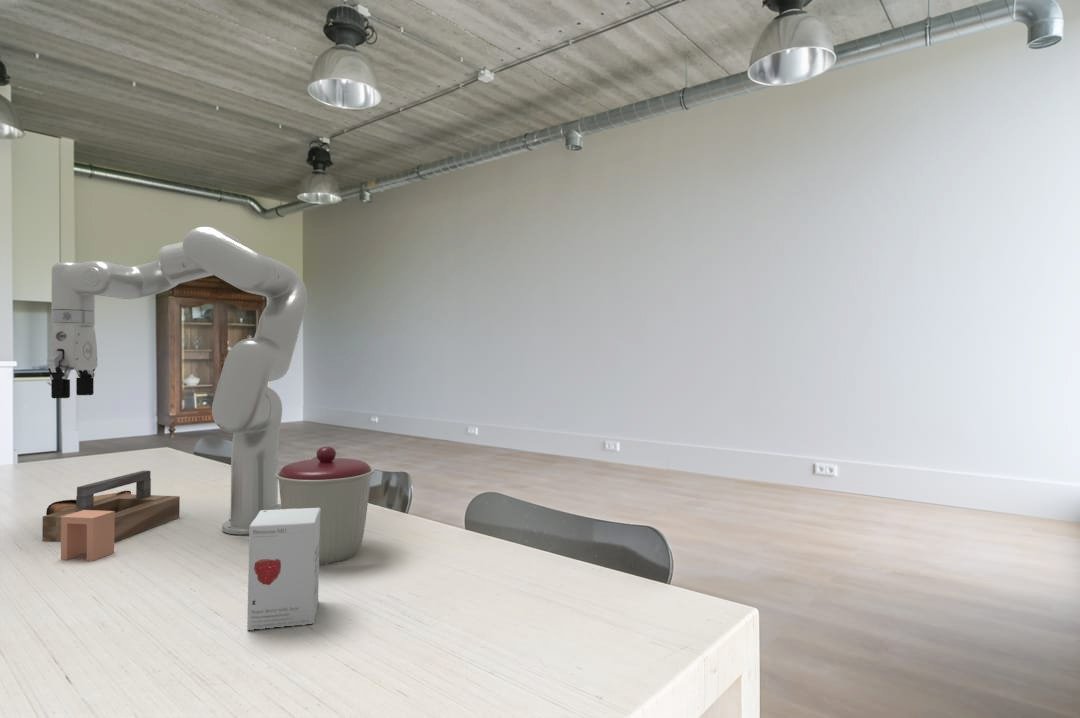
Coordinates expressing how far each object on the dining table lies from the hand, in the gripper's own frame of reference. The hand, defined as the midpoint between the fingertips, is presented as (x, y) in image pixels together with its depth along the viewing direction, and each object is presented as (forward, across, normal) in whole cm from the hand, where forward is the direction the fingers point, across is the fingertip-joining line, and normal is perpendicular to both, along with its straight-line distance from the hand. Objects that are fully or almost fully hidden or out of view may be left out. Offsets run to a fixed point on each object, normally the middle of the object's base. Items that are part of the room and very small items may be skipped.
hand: (73, 396), depth 132 cm
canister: (+29, -30, -57) cm, 71 cm away
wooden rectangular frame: (+29, -3, -10) cm, 31 cm away
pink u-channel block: (+29, -22, -13) cm, 39 cm away
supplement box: (+30, -57, -55) cm, 84 cm away
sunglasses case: (+29, +12, +1) cm, 32 cm away
